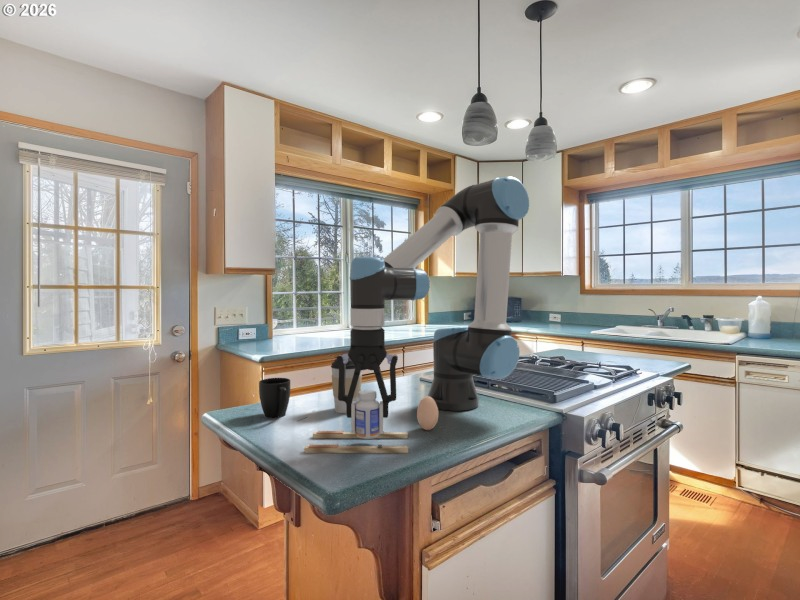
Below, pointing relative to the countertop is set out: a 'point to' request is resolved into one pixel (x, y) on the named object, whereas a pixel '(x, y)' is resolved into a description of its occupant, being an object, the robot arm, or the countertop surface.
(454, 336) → the robot arm
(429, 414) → the egg
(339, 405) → the coffee cup
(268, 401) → the mug
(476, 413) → the countertop surface
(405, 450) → the beam track
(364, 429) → the pill bottle
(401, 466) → the countertop surface
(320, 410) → the countertop surface
